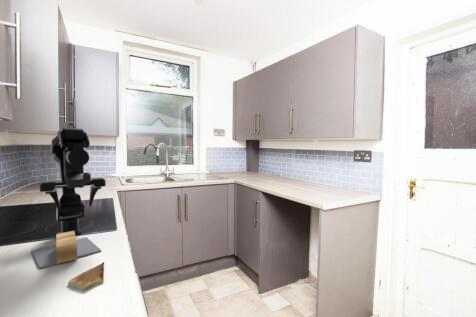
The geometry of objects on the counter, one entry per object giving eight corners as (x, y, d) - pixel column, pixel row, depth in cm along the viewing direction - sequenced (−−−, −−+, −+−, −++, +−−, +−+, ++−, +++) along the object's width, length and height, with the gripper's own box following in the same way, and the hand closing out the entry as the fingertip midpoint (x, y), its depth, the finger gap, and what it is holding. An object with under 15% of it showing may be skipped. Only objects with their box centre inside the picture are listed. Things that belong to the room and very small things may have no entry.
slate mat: (31, 251, 80) (31, 250, 80) (86, 238, 91) (86, 237, 91) (39, 269, 69) (39, 267, 69) (101, 251, 80) (101, 250, 80)
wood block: (56, 233, 81) (56, 247, 71) (74, 230, 84) (76, 243, 74) (56, 248, 81) (56, 263, 71) (74, 244, 84) (77, 259, 74)
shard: (103, 266, 72) (103, 260, 71) (123, 271, 69) (123, 265, 69) (66, 286, 61) (66, 279, 61) (88, 293, 59) (88, 286, 59)
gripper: (38, 167, 73) (40, 218, 74) (107, 164, 84) (108, 209, 85) (39, 164, 82) (41, 210, 82) (102, 162, 93) (103, 202, 94)
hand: (75, 208), depth 86 cm, fingers open, 9 cm apart
